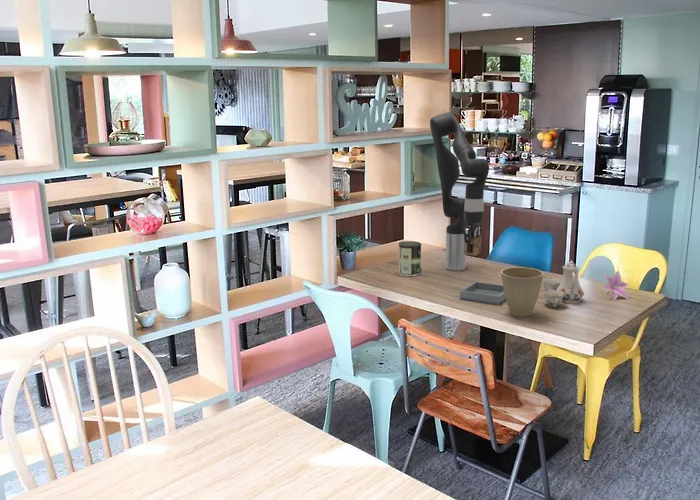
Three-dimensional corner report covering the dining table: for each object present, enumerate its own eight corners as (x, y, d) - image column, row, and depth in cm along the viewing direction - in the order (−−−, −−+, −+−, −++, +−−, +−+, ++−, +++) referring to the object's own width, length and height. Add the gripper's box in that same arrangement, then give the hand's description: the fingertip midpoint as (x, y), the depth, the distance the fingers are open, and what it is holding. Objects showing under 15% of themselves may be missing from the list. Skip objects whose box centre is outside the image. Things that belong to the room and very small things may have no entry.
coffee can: (420, 270, 307) (420, 240, 304) (421, 276, 297) (422, 245, 294) (397, 270, 307) (398, 241, 304) (399, 276, 297) (399, 246, 294)
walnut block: (469, 251, 269) (469, 235, 267) (480, 253, 266) (481, 236, 264) (464, 254, 264) (464, 237, 263) (475, 255, 262) (476, 238, 260)
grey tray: (474, 289, 276) (474, 281, 275) (512, 294, 268) (512, 286, 267) (460, 299, 263) (460, 290, 262) (499, 305, 255) (499, 296, 254)
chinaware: (536, 292, 276) (534, 254, 273) (577, 290, 273) (576, 251, 270) (545, 314, 249) (542, 271, 246) (591, 311, 246) (589, 268, 243)
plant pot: (503, 305, 254) (505, 265, 251) (543, 310, 249) (545, 269, 245) (496, 317, 241) (497, 275, 237) (538, 322, 235) (540, 279, 232)
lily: (595, 301, 261) (607, 284, 255) (592, 283, 270) (603, 266, 264) (624, 311, 261) (636, 293, 255) (620, 292, 270) (632, 275, 264)
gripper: (472, 206, 269) (470, 247, 273) (457, 211, 258) (456, 253, 261) (489, 208, 265) (488, 249, 269) (475, 212, 254) (474, 256, 257)
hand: (472, 251), depth 265 cm, fingers closed on walnut block, 5 cm apart
